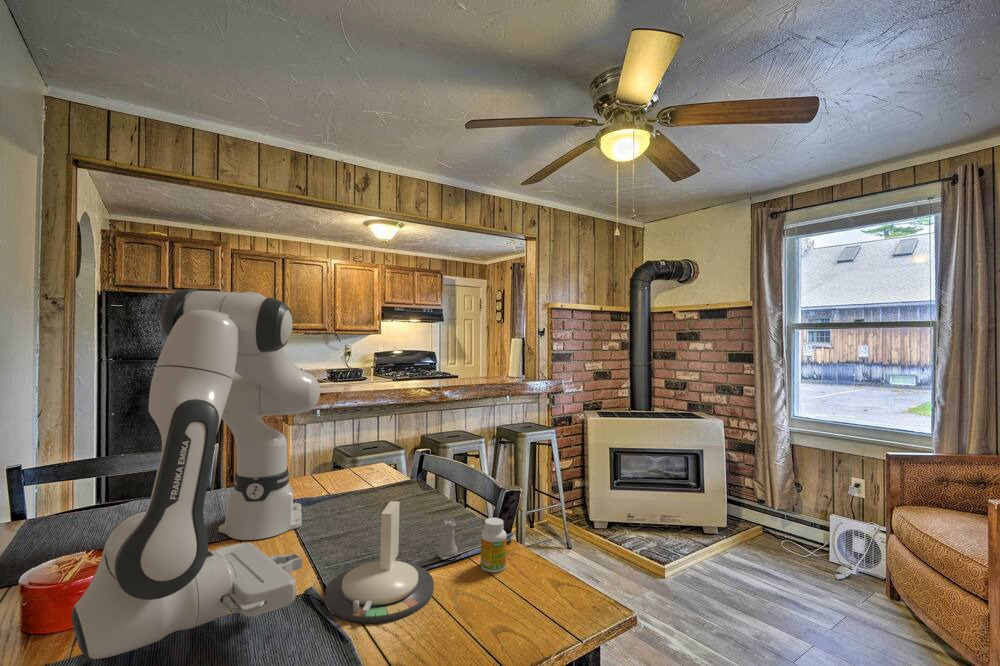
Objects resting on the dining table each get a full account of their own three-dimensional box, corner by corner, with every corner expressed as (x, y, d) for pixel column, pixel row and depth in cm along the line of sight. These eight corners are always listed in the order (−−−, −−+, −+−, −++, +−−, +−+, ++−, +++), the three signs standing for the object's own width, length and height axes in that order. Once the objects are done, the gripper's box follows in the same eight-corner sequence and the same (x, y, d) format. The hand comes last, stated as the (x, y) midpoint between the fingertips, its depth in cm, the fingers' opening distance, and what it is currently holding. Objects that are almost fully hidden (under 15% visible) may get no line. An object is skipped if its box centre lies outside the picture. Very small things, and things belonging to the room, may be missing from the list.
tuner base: (304, 591, 89) (305, 575, 89) (394, 556, 104) (394, 542, 104) (361, 639, 75) (361, 620, 75) (455, 592, 90) (455, 576, 90)
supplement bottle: (491, 576, 96) (492, 528, 96) (475, 565, 100) (476, 520, 100) (511, 567, 100) (512, 521, 100) (494, 558, 104) (495, 514, 104)
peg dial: (360, 558, 100) (361, 500, 100) (426, 560, 99) (427, 502, 99) (323, 614, 80) (325, 541, 80) (406, 616, 79) (407, 544, 79)
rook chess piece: (454, 562, 101) (455, 525, 101) (434, 560, 102) (435, 523, 102) (460, 553, 106) (461, 517, 106) (441, 551, 107) (442, 515, 107)
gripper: (235, 594, 67) (327, 561, 77) (193, 548, 81) (276, 526, 91) (234, 638, 67) (326, 600, 77) (192, 585, 81) (275, 558, 91)
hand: (299, 559), depth 84 cm, fingers closed
